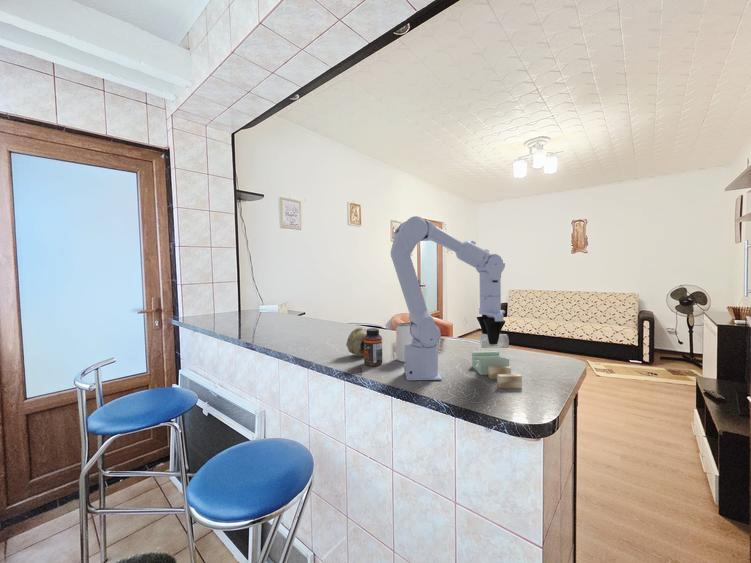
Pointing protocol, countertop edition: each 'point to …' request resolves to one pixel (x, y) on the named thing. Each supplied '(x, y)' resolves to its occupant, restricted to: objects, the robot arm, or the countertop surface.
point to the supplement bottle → (373, 347)
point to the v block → (487, 361)
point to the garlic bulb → (356, 342)
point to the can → (402, 340)
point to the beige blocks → (505, 377)
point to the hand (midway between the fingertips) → (490, 342)
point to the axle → (502, 343)
